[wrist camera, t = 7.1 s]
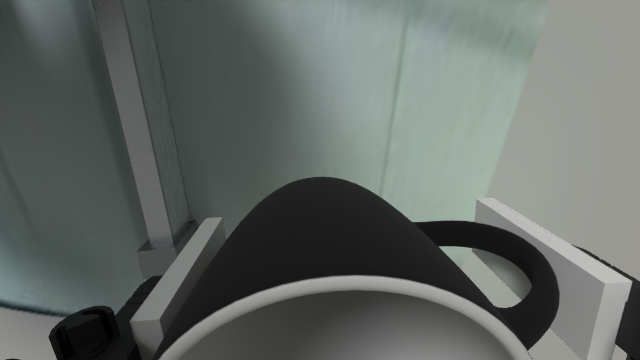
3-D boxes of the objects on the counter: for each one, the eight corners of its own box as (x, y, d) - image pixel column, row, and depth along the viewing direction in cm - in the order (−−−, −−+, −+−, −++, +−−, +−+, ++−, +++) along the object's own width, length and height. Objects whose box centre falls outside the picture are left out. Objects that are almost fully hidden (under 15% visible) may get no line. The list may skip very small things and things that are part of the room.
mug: (262, 326, 18) (215, 616, 8) (205, 180, 15) (31, 350, 5) (470, 273, 17) (680, 507, 8) (448, 114, 15) (724, 168, 5)
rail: (170, 245, 25) (143, 277, 21) (88, -126, 18) (23, -190, 14) (200, 243, 25) (180, 275, 21) (130, -128, 18) (79, -191, 14)
